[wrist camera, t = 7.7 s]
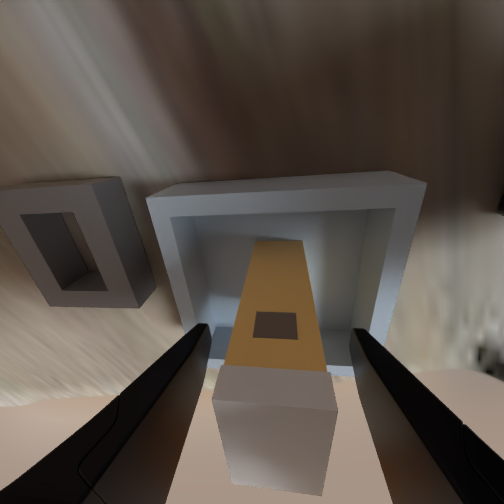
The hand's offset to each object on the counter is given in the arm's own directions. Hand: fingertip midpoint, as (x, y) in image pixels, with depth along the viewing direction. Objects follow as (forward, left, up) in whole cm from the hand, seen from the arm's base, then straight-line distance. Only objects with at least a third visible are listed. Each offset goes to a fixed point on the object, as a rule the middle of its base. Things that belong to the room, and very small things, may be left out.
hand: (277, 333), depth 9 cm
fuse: (0, 0, -4) cm, 4 cm away
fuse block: (+11, -2, -5) cm, 12 cm away
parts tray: (0, 0, -5) cm, 5 cm away
